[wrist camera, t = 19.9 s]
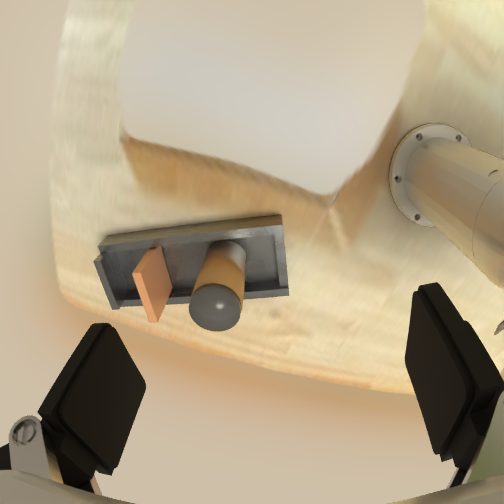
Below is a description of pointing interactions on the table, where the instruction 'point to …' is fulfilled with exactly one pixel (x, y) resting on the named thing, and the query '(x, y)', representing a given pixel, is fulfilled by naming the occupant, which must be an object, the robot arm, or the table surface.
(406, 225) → the table surface
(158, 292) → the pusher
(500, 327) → the toy
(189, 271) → the tray
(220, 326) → the jar
